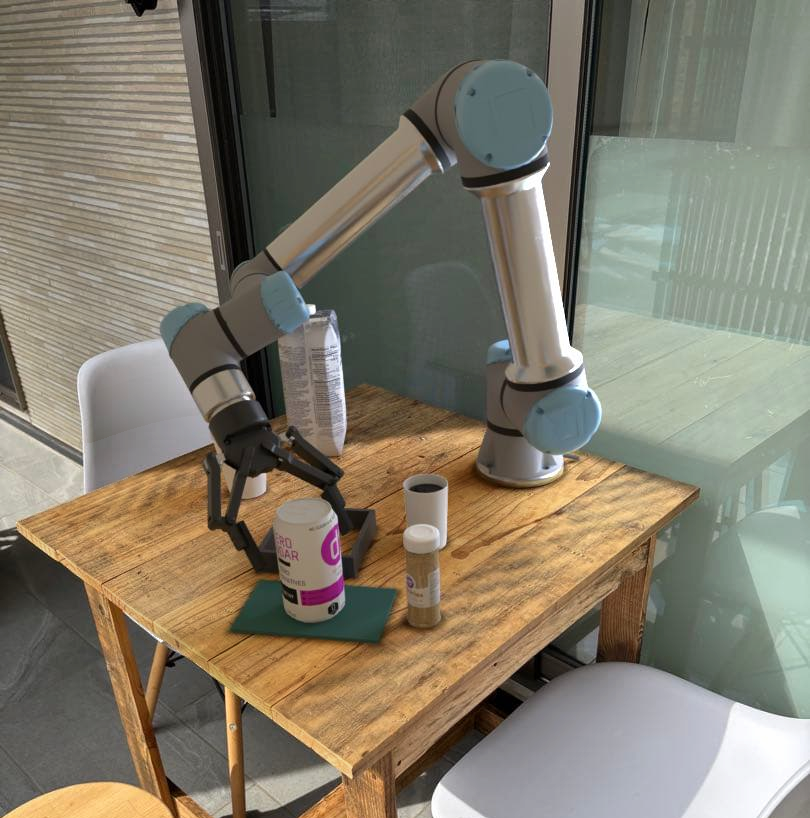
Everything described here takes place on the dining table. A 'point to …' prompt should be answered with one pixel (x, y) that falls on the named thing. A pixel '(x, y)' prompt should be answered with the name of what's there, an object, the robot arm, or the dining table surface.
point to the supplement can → (309, 559)
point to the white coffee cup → (427, 502)
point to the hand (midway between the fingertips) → (306, 550)
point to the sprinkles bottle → (422, 575)
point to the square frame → (350, 563)
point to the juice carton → (315, 381)
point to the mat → (351, 624)
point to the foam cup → (252, 485)
